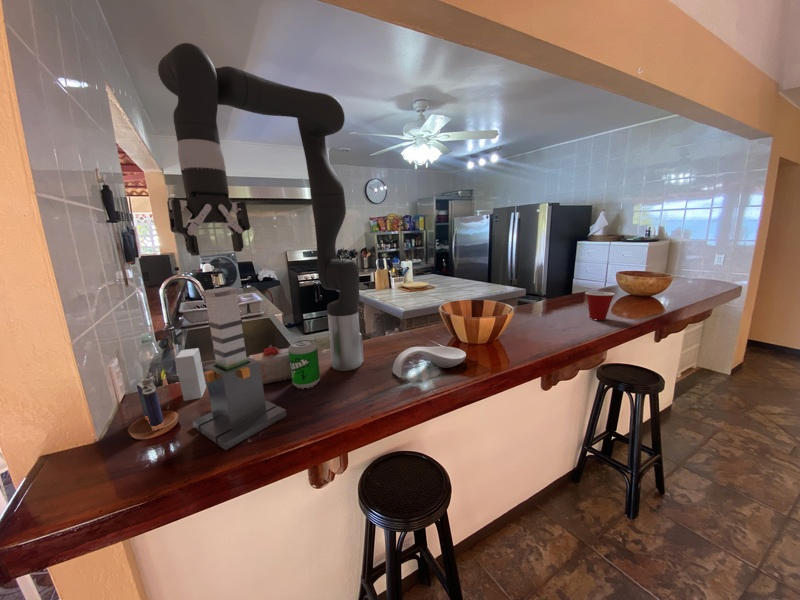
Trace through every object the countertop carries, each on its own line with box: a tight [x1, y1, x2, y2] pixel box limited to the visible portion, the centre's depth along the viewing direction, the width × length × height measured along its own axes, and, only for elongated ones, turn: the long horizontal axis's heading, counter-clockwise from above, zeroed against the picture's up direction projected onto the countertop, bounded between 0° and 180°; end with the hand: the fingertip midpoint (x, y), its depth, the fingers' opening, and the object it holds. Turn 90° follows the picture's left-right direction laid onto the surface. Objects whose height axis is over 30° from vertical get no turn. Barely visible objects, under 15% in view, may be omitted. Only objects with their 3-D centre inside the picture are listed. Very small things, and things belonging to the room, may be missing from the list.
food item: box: [248, 344, 292, 386], centre depth 92 cm, size 14×8×10 cm, turn 115°
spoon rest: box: [392, 346, 467, 379], centre depth 97 cm, size 24×12×7 cm, turn 117°
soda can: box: [287, 339, 321, 390], centre depth 88 cm, size 8×8×12 cm
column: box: [201, 286, 248, 372], centre depth 68 cm, size 5×5×24 cm
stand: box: [192, 356, 287, 451], centre depth 71 cm, size 14×14×14 cm
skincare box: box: [174, 347, 207, 402], centre depth 84 cm, size 6×4×12 cm
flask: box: [136, 377, 164, 427], centre depth 72 cm, size 9×3×11 cm, turn 48°
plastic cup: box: [585, 291, 616, 321], centre depth 139 cm, size 11×11×12 cm
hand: (217, 253), depth 65 cm, fingers open, 8 cm apart
